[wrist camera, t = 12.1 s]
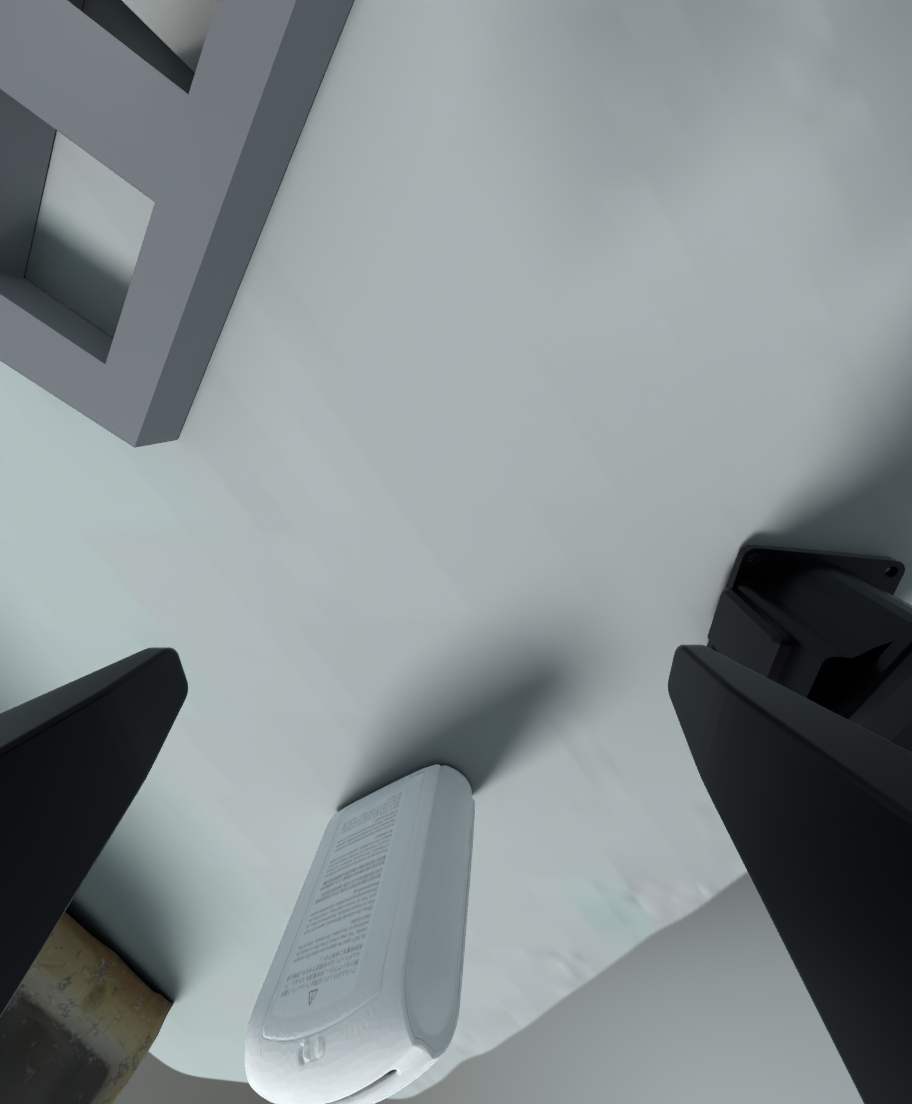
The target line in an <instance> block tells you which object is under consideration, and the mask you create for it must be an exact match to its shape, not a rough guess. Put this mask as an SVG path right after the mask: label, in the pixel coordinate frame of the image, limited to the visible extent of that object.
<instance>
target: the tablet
mask: <svg viewBox="0 0 912 1104" xmlns="http://www.w3.org/2000/svg"><path fill="white" fill-rule="evenodd" d="M172 1005H173V1003H170V1002H169V1001H167V1000H166V999H165V998H164V997H163V996H162V995H161V994H157V993H155V992H153V991H152V990H151V989H150V988H149V987H148V986H147V985H146V984H145V983H144V982H143V981H142V980H141V979H140V978H139V977H138V976H137V975H136V974H135V973H134V972H133V971H132V970H131V969H130V968H129V967H128V966H127V965H126V964H125V963H124V962H123V960H122V959H121V958H120V957H119V956H118V955H117V954H116V953H115V952H114V951H112V950H111V949H109V948H108V947H106V946H105V945H104V944H102V943H101V942H100V941H98V940H97V939H96V938H94V937H93V936H92V935H91V934H90V933H89V932H88V931H86V930H85V929H84V928H83V927H82V926H81V925H80V924H79V923H77V922H76V921H75V920H74V919H73V918H72V917H71V916H70V915H68V914H67V913H66V912H64V914H63V916H62V917H61V919H60V920H59V922H58V924H57V925H56V927H55V929H54V930H53V932H52V934H51V935H50V937H49V938H48V940H47V942H46V943H45V945H44V947H43V948H42V950H41V952H40V953H39V955H38V956H37V958H36V960H35V961H34V963H33V965H32V966H31V968H30V970H29V971H28V973H27V974H26V976H25V978H24V979H23V981H22V983H21V984H20V986H19V988H18V989H17V991H16V992H15V994H14V996H13V997H12V999H11V1001H10V1002H9V1004H8V1006H7V1007H6V1009H5V1010H4V1012H3V1014H2V1015H1V1017H0V1104H113V1103H114V1102H115V1100H116V1099H117V1097H118V1096H119V1094H120V1093H121V1092H122V1090H123V1089H124V1087H125V1086H126V1084H127V1083H128V1081H129V1080H130V1078H131V1077H132V1075H133V1074H134V1072H135V1071H136V1069H137V1068H138V1066H139V1064H140V1063H141V1062H142V1060H143V1058H144V1057H145V1055H146V1054H147V1052H148V1050H149V1049H150V1047H151V1045H152V1044H153V1042H154V1040H155V1039H156V1037H157V1035H158V1033H159V1031H160V1029H161V1027H162V1025H163V1022H164V1020H165V1018H166V1016H167V1014H168V1012H169V1010H170V1009H171V1007H172Z"/></svg>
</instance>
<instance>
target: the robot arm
mask: <svg viewBox="0 0 912 1104" xmlns="http://www.w3.org/2000/svg"><path fill="white" fill-rule="evenodd" d="M755 553H756V557H755V558H754V559H753V560H751V561H748V558H749V556H750V555H752V554H755ZM889 567H890V569H889V571H888V572H886V573H884V572H885V570H886V569H887V568H889ZM904 571H905V567H904V565H903V564H902V563H901V562H899V561H897V560H895V559H892V558H889V557H878V556H868V555H857V554H846V553H836V552H825V551H814V550H803V549H793V548H782V547H771V546H760V545H748V546H745V547H743V548H742V549H741V550H740V551H739V553H738V555H737V558H736V561H735V564H734V567H733V570H732V573H731V576H730V579H729V582H728V585H727V588H726V589H725V590H724V591H723V592H722V594H721V597H720V600H719V603H718V606H717V609H716V612H715V615H714V618H713V621H712V624H711V628H710V631H709V634H708V639H709V642H708V645H707V647H706V646H704V645H680V646H679V647H677V649H676V651H675V654H674V658H673V662H672V667H671V671H670V676H669V680H668V691H669V695H670V698H671V701H672V704H673V706H674V709H675V711H676V714H677V717H678V719H679V722H680V725H681V727H682V730H683V733H684V735H685V738H686V740H687V743H688V746H689V748H690V751H691V754H692V756H693V759H694V761H695V764H696V766H697V769H698V771H699V774H700V776H701V778H702V781H703V783H704V785H705V787H706V789H707V791H708V793H709V795H710V797H711V799H712V801H713V803H714V805H715V807H716V809H717V811H718V813H719V815H720V817H721V819H722V821H723V823H724V825H725V827H726V829H727V831H728V833H729V835H730V837H731V839H732V841H733V843H734V845H735V847H736V849H737V851H738V853H739V855H740V857H741V859H742V861H743V863H744V865H745V867H746V869H747V871H748V873H749V875H750V877H751V879H752V881H753V883H754V885H755V887H756V889H757V891H758V893H759V895H760V897H761V899H762V901H763V903H764V905H765V907H766V909H767V911H768V913H769V915H770V917H771V919H772V921H773V923H774V925H775V927H776V929H777V931H778V933H779V935H780V937H781V939H782V941H783V943H784V945H785V947H786V949H787V951H788V953H789V955H790V957H791V959H792V960H793V963H794V965H795V967H796V969H797V971H798V973H799V975H800V977H801V979H802V981H803V982H804V985H805V987H806V989H807V991H808V993H809V994H810V997H811V999H812V1001H813V1003H814V1005H815V1007H816V1008H817V1011H818V1013H819V1015H820V1016H821V1018H822V1021H823V1023H824V1024H825V1027H826V1029H827V1030H828V1032H829V1034H830V1036H831V1038H832V1040H833V1042H834V1044H835V1046H836V1048H837V1050H838V1052H839V1054H840V1056H841V1058H842V1060H843V1062H844V1064H845V1066H846V1068H847V1070H848V1072H849V1074H850V1076H851V1078H852V1080H853V1082H854V1084H855V1086H856V1088H857V1090H858V1092H859V1094H860V1096H861V1098H862V1100H863V1102H864V1104H912V606H911V605H910V604H908V603H906V602H904V601H902V600H900V599H899V598H897V597H895V596H893V594H894V592H895V590H896V588H897V586H898V584H899V582H900V580H901V578H902V576H903V574H904ZM187 693H188V683H187V679H186V676H185V673H184V670H183V667H182V664H181V661H180V658H179V655H178V653H177V652H176V650H174V649H173V648H147V649H145V650H142V651H140V652H138V653H136V654H133V655H131V656H129V657H127V658H124V659H122V660H120V661H118V662H115V663H113V664H111V665H109V666H106V667H104V668H102V669H100V670H97V671H95V672H93V673H91V674H88V675H86V676H84V677H82V678H79V679H77V680H75V681H73V682H70V683H68V684H66V685H64V686H61V687H59V688H57V689H55V690H52V691H50V692H48V693H46V694H43V695H41V696H39V697H37V698H34V699H32V700H30V701H28V702H25V703H23V704H21V705H19V706H17V707H14V708H12V709H10V710H8V711H5V712H3V713H1V714H0V1017H1V1015H2V1014H3V1012H4V1010H5V1009H6V1007H7V1006H8V1004H9V1002H10V1001H11V999H12V997H13V996H14V994H15V992H16V991H17V989H18V988H19V986H20V984H21V983H22V981H23V979H24V978H25V976H26V974H27V973H28V971H29V970H30V968H31V966H32V965H33V963H34V961H35V960H36V958H37V956H38V955H39V953H40V952H41V950H42V948H43V947H44V945H45V943H46V942H47V940H48V938H49V937H50V935H51V934H52V932H53V930H54V929H55V927H56V925H57V924H58V922H59V920H60V919H61V917H62V916H63V914H64V912H65V911H66V909H67V907H68V906H69V904H70V902H71V901H72V899H73V898H74V896H75V894H76V893H77V891H78V889H79V888H80V886H81V884H82V883H83V881H84V880H85V878H86V876H87V875H88V873H89V871H90V870H91V868H92V866H93V865H94V863H95V862H96V860H97V858H98V857H99V855H100V853H101V852H102V850H103V848H104V847H105V845H106V844H107V842H108V840H109V839H110V837H111V835H112V834H113V832H114V830H115V829H116V827H117V826H118V824H119V822H120V821H121V819H122V817H123V816H124V814H125V812H126V811H127V809H128V808H129V806H130V804H131V803H132V801H133V799H134V798H135V796H136V794H137V793H138V791H139V789H140V788H141V786H142V784H143V782H144V781H145V779H146V777H147V775H148V773H149V771H150V770H151V768H152V766H153V764H154V762H155V760H156V758H157V756H158V754H159V752H160V750H161V748H162V746H163V744H164V742H165V740H166V737H167V735H168V733H169V731H170V729H171V727H172V725H173V723H174V721H175V719H176V717H177V715H178V713H179V711H180V709H181V707H182V705H183V703H184V701H185V699H186V696H187Z"/></svg>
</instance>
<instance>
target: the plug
mask: <svg viewBox="0 0 912 1104" xmlns="http://www.w3.org/2000/svg"><path fill="white" fill-rule="evenodd" d="M122 1H123V2H124V3H125V4H126V5H127V6H128V7H129V8H130V9H131V10H132V11H133V12H134V13H135V14H136V15H137V16H138V17H139V18H140V19H141V20H142V21H143V22H144V23H145V24H146V25H147V26H148V27H149V28H150V29H151V30H152V31H153V32H154V33H155V34H156V35H157V36H158V37H159V38H160V39H161V40H162V41H163V42H164V43H165V44H166V45H167V46H168V47H169V48H170V49H171V50H172V51H173V52H174V53H175V54H176V55H177V56H178V57H179V58H180V59H181V60H182V61H183V62H184V63H185V64H186V65H187V66H188V67H189V68H190V69H191V70H192V71H193V72H194V73H195V71H196V68H197V65H198V62H199V58H200V55H201V52H202V49H203V45H204V42H205V39H206V36H207V32H208V29H209V26H210V23H211V19H212V16H213V13H214V10H215V6H216V3H217V0H122Z"/></svg>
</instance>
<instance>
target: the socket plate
mask: <svg viewBox="0 0 912 1104" xmlns="http://www.w3.org/2000/svg"><path fill="white" fill-rule="evenodd" d="M83 1H84V0H0V361H2V362H3V363H5V364H6V365H8V366H9V367H11V368H12V369H14V370H15V371H17V372H19V373H20V374H22V375H23V376H25V377H26V378H28V379H29V380H31V381H32V382H34V383H36V384H37V385H39V386H40V387H42V388H43V389H45V390H46V391H48V392H49V393H51V394H53V395H54V396H56V397H57V398H59V399H60V400H62V401H63V402H65V403H66V404H68V405H70V406H71V407H73V408H74V409H76V410H77V411H79V412H80V413H82V414H83V415H85V416H86V417H88V418H90V419H91V420H93V421H94V422H96V423H97V424H99V425H100V426H102V427H103V428H105V429H107V430H108V431H110V432H111V433H113V434H114V435H116V436H117V437H119V438H120V439H122V440H124V441H125V442H127V443H128V444H130V445H131V446H133V447H140V446H145V445H151V444H157V443H162V442H168V441H173V440H177V439H178V437H179V434H180V432H181V429H182V427H183V424H184V422H185V419H186V417H187V414H188V412H189V409H190V407H191V404H192V402H193V399H194V397H195V394H196V392H197V389H198V387H199V384H200V382H201V379H202V377H203V374H204V372H205V370H206V367H207V365H208V362H209V360H210V357H211V355H212V352H213V350H214V347H215V345H216V342H217V340H218V337H219V335H220V332H221V330H222V327H223V325H224V322H225V320H226V317H227V315H228V312H229V310H230V307H231V305H232V302H233V300H234V297H235V295H236V292H237V290H238V287H239V285H240V282H241V280H242V277H243V275H244V272H245V270H246V267H247V265H248V262H249V260H250V258H251V255H252V253H253V250H254V248H255V245H256V243H257V240H258V238H259V235H260V233H261V230H262V228H263V225H264V223H265V220H266V218H267V215H268V213H269V210H270V208H271V205H272V203H273V200H274V198H275V195H276V193H277V190H278V188H279V185H280V183H281V180H282V178H283V175H284V173H285V170H286V168H287V165H288V163H289V160H290V158H291V155H292V153H293V150H294V148H295V146H296V143H297V141H298V138H299V136H300V133H301V131H302V128H303V126H304V123H305V121H306V118H307V116H308V113H309V111H310V108H311V106H312V103H313V101H314V98H315V96H316V93H317V91H318V88H319V86H320V83H321V81H322V78H323V76H324V73H325V71H326V68H327V66H328V63H329V61H330V58H331V56H332V53H333V51H334V48H335V46H336V43H337V41H338V38H339V36H340V34H341V31H342V29H343V26H344V24H345V21H346V19H347V16H348V14H349V11H350V9H351V6H352V4H353V1H354V0H217V3H216V6H215V10H214V13H213V16H212V19H211V23H210V26H209V29H208V32H207V36H206V39H205V42H204V45H203V49H202V52H201V55H200V58H199V62H198V65H197V68H196V71H195V75H194V78H193V81H192V84H191V88H190V91H189V94H187V93H186V92H185V91H183V90H182V89H181V88H180V87H178V86H177V85H176V84H174V83H173V82H172V81H170V80H169V79H168V78H167V77H165V76H164V75H163V74H161V73H160V72H159V71H158V70H156V69H155V68H154V67H152V66H151V65H150V64H149V63H147V62H146V61H145V60H143V59H142V58H141V57H140V56H138V55H137V54H136V53H134V52H133V51H132V50H131V49H129V48H128V47H127V46H125V45H124V44H123V43H122V42H120V41H119V40H118V39H116V38H115V37H114V36H113V35H111V34H110V33H109V32H107V31H106V30H105V29H104V28H102V27H101V26H100V25H98V24H97V23H96V22H95V21H93V20H92V19H91V18H89V17H88V16H87V15H86V14H84V13H83V12H82V6H83ZM56 130H57V131H59V132H60V133H61V134H63V135H64V136H65V137H67V138H68V139H69V140H71V141H72V142H74V143H75V144H76V145H78V146H79V147H80V148H82V149H83V150H84V151H86V152H87V153H89V154H90V155H91V156H93V157H94V158H95V159H97V160H98V161H100V162H101V163H102V164H104V165H105V166H106V167H108V168H109V169H110V170H112V171H113V172H115V173H116V174H117V175H119V176H120V177H121V178H123V179H124V180H125V181H127V182H128V183H130V184H131V185H132V186H134V187H135V188H136V189H138V190H139V191H140V192H142V193H143V194H145V195H146V196H147V197H149V198H150V199H151V200H153V201H154V202H155V205H154V208H153V211H152V214H151V218H150V221H149V224H148V227H147V231H146V234H145V237H144V240H143V244H142V247H141V250H140V253H139V257H138V260H137V263H136V266H135V270H134V273H133V276H132V279H131V283H130V286H129V289H128V292H127V296H126V299H125V302H124V305H123V309H122V312H121V315H120V318H119V322H118V325H117V328H116V331H115V335H114V338H112V337H110V336H109V335H107V334H106V333H104V332H103V331H101V330H100V329H99V328H97V327H96V326H94V325H93V324H91V323H90V322H88V321H87V320H85V319H84V318H82V317H81V316H79V315H78V314H76V313H75V312H73V311H72V310H71V309H69V308H68V307H66V306H65V305H63V304H62V303H60V302H59V301H57V300H56V299H54V298H53V297H51V296H50V295H48V294H47V293H45V292H44V291H43V290H41V289H40V288H38V287H37V286H35V285H34V284H32V283H31V282H29V281H28V280H26V279H25V278H24V275H25V270H26V266H27V261H28V257H29V252H30V247H31V243H32V238H33V233H34V229H35V224H36V219H37V215H38V210H39V205H40V201H41V196H42V192H43V187H44V182H45V178H46V173H47V168H48V164H49V159H50V154H51V150H52V145H53V141H54V136H55V131H56Z"/></svg>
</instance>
